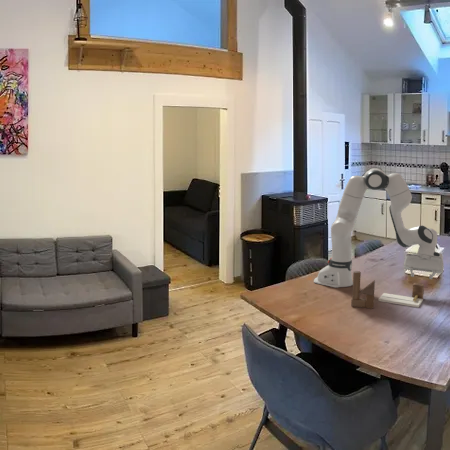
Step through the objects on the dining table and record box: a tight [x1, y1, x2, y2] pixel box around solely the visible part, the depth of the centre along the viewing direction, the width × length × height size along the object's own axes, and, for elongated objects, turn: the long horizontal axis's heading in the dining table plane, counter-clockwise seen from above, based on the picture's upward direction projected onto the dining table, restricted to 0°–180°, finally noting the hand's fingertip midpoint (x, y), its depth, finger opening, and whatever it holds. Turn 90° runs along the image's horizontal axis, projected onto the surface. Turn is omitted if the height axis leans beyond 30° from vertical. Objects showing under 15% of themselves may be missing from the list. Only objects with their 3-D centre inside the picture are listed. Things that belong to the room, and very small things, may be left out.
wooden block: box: [350, 270, 376, 310], centre depth 259 cm, size 4×11×18 cm, turn 66°
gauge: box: [411, 282, 425, 301], centre depth 268 cm, size 5×12×8 cm, turn 149°
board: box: [378, 292, 424, 308], centre depth 268 cm, size 20×11×1 cm, turn 59°
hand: (421, 277), depth 276 cm, fingers open, 8 cm apart
